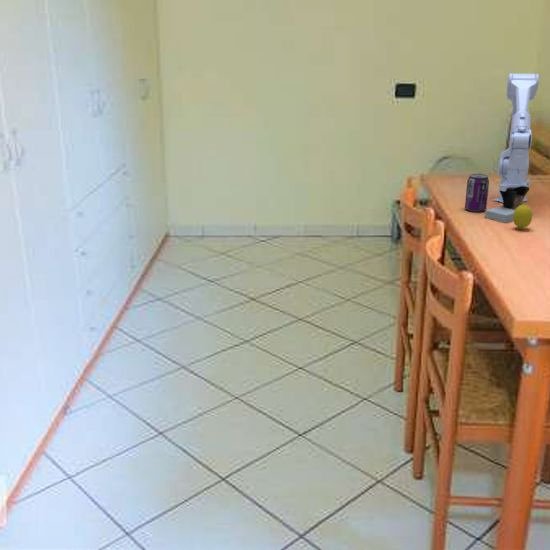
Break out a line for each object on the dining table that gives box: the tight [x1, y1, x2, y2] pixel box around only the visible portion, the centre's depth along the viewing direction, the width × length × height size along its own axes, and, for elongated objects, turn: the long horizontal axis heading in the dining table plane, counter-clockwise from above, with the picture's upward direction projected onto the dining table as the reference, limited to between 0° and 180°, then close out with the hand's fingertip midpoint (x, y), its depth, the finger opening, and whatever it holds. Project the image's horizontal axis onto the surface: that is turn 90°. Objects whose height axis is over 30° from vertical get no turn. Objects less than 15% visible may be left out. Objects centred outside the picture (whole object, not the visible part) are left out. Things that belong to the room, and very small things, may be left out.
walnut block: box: [502, 194, 524, 210], centre depth 227 cm, size 4×4×6 cm
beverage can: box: [464, 173, 490, 213], centre depth 230 cm, size 7×7×12 cm
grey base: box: [484, 206, 515, 224], centre depth 221 cm, size 8×8×2 cm
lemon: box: [512, 203, 533, 230], centre depth 209 cm, size 6×6×8 cm
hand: (512, 208), depth 227 cm, fingers closed on walnut block, 4 cm apart
